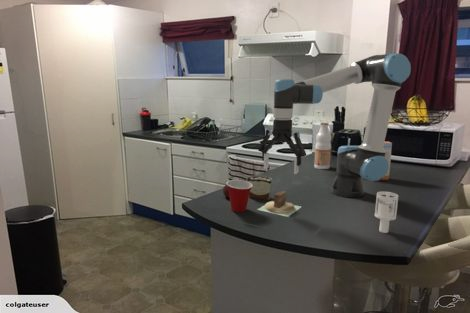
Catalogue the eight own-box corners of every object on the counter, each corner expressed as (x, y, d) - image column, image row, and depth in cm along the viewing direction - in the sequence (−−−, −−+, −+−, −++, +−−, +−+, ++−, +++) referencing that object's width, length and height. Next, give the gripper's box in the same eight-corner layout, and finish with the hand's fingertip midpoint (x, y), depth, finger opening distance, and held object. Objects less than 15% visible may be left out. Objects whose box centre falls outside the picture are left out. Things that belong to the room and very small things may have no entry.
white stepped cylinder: (373, 233, 129) (377, 192, 126) (373, 226, 135) (377, 187, 132) (394, 236, 127) (399, 195, 123) (393, 229, 133) (398, 189, 130)
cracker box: (385, 177, 204) (389, 140, 200) (388, 180, 199) (392, 142, 194) (360, 176, 206) (363, 140, 201) (362, 179, 200) (365, 142, 196)
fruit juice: (311, 167, 226) (313, 122, 220) (319, 165, 233) (322, 121, 227) (324, 170, 220) (327, 124, 214) (332, 167, 226) (335, 123, 220)
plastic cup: (250, 216, 143) (250, 187, 141) (223, 214, 145) (223, 185, 143) (254, 207, 154) (254, 180, 151) (229, 205, 156) (229, 178, 153)
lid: (298, 206, 153) (299, 191, 152) (286, 215, 144) (287, 199, 142) (273, 201, 160) (273, 187, 158) (260, 209, 150) (260, 194, 148)
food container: (275, 197, 167) (275, 176, 165) (272, 201, 162) (272, 179, 160) (249, 194, 171) (250, 174, 169) (245, 198, 166) (246, 177, 164)
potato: (229, 193, 172) (229, 181, 171) (245, 198, 166) (245, 185, 165) (218, 197, 167) (218, 184, 166) (235, 202, 161) (235, 188, 159)
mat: (301, 208, 154) (301, 206, 154) (287, 218, 142) (288, 216, 142) (272, 201, 161) (272, 200, 161) (256, 211, 150) (256, 209, 150)
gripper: (316, 120, 141) (313, 173, 145) (259, 116, 154) (258, 164, 158) (309, 122, 134) (306, 177, 139) (250, 117, 148) (249, 168, 152)
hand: (280, 170), depth 148 cm, fingers open, 13 cm apart
